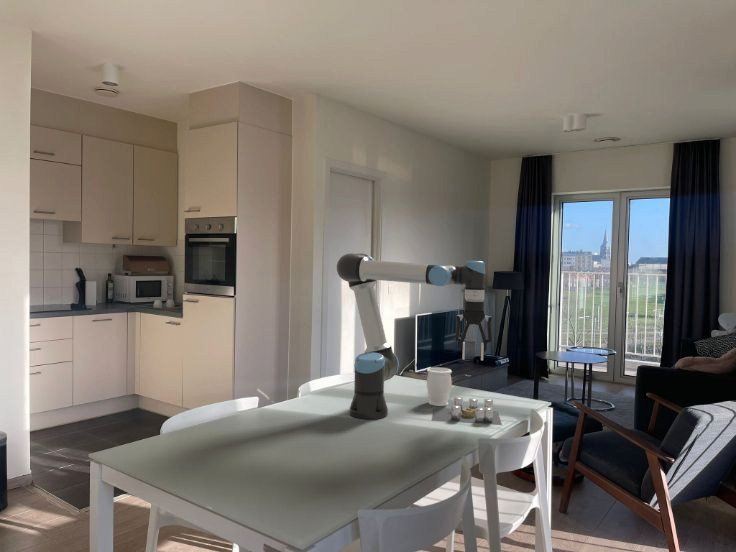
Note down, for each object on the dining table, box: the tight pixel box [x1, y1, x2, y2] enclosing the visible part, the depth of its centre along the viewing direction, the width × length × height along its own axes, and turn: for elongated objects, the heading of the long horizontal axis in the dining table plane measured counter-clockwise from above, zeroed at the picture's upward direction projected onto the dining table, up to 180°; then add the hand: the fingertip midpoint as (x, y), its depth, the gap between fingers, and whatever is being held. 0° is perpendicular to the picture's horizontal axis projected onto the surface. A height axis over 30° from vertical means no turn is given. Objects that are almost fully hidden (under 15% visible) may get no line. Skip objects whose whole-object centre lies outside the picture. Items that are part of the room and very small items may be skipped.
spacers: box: [450, 396, 494, 424], centre depth 223 cm, size 17×19×5 cm
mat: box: [431, 406, 503, 426], centre depth 224 cm, size 26×19×1 cm
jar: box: [426, 367, 453, 407], centre depth 242 cm, size 11×10×15 cm
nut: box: [462, 407, 475, 418], centre depth 223 cm, size 4×5×2 cm
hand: (472, 359), depth 223 cm, fingers open, 6 cm apart
